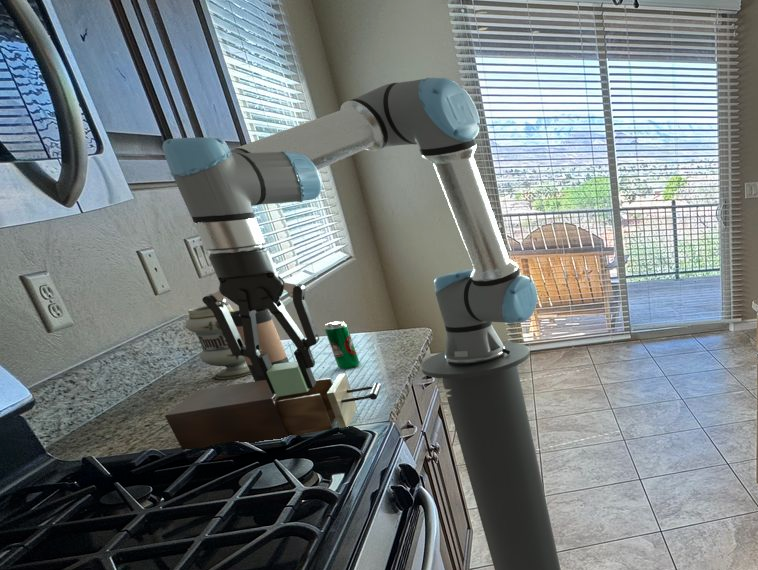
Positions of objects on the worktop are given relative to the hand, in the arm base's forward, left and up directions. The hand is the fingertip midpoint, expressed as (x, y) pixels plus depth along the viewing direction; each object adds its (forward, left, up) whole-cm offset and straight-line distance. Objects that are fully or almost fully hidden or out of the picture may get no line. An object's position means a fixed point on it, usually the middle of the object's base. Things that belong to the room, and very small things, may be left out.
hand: (294, 388), depth 98 cm
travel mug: (+16, -43, -13) cm, 48 cm away
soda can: (+4, -59, -13) cm, 61 cm away
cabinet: (+14, -14, -13) cm, 24 cm away
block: (0, 0, 0) cm, 0 cm away
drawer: (+1, -14, -12) cm, 19 cm away
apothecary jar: (+32, -70, -13) cm, 78 cm away
